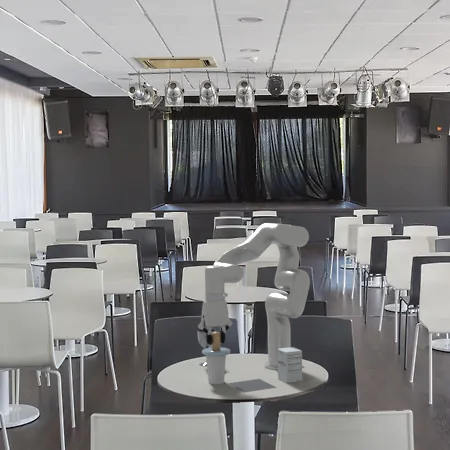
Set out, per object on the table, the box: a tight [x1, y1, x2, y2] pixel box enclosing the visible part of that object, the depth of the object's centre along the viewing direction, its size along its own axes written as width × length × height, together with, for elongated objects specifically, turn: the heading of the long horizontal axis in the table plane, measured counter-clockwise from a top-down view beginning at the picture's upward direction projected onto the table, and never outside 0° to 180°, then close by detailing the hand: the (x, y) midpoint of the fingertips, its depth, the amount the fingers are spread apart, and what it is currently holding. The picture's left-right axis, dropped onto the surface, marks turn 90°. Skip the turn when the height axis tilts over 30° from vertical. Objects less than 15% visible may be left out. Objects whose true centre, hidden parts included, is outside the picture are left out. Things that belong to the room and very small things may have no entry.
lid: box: [201, 331, 231, 356], centre depth 305 cm, size 11×11×8 cm
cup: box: [205, 355, 227, 385], centre depth 306 cm, size 8×8×12 cm
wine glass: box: [197, 327, 217, 367], centre depth 336 cm, size 8×8×15 cm
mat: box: [227, 378, 277, 393], centre depth 301 cm, size 14×14×1 cm
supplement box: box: [277, 346, 303, 384], centre depth 308 cm, size 7×7×13 cm
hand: (215, 342), depth 305 cm, fingers open, 4 cm apart
